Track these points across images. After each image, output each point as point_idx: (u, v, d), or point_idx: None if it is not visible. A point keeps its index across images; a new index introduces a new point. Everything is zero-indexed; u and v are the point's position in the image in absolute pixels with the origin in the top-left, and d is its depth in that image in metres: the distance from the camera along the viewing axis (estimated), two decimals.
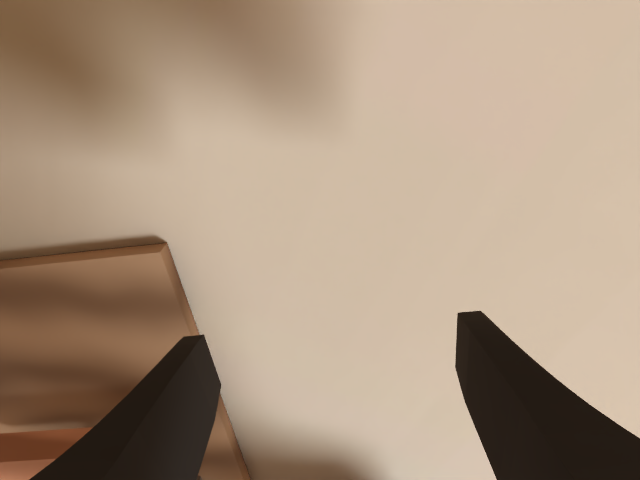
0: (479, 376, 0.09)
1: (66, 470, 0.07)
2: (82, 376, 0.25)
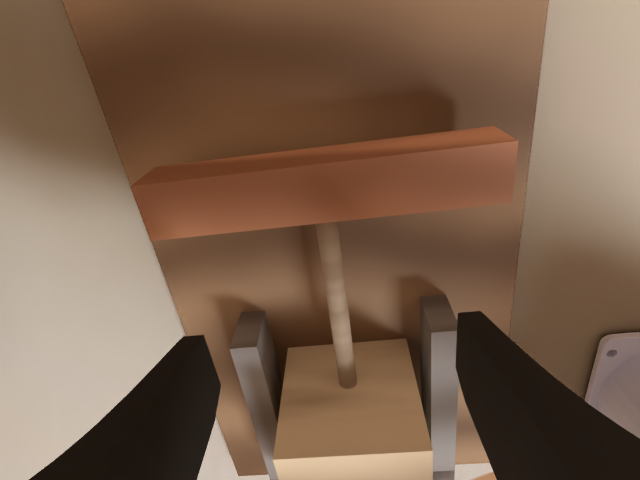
0: (479, 376, 0.09)
1: (66, 471, 0.07)
2: (316, 55, 0.14)
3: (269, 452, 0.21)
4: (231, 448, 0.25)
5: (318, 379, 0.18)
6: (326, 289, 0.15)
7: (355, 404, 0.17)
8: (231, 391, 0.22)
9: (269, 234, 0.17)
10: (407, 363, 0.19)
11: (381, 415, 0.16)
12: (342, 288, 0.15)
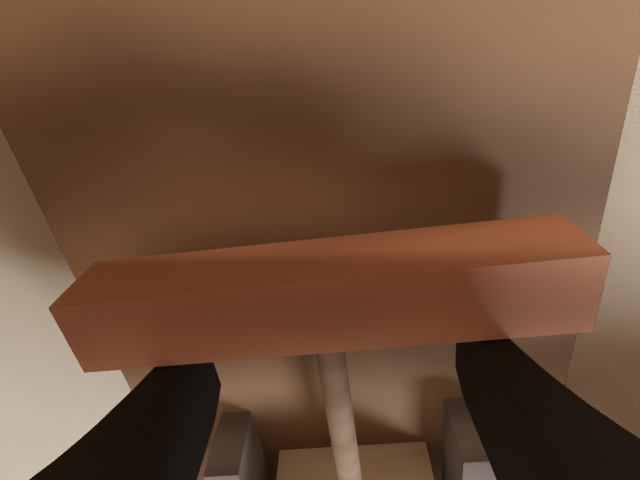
0: (479, 376, 0.09)
1: (67, 470, 0.07)
2: (314, 115, 0.10)
3: None
4: None
5: None
6: (327, 416, 0.12)
7: None
8: None
9: None
10: None
11: None
12: (348, 416, 0.11)
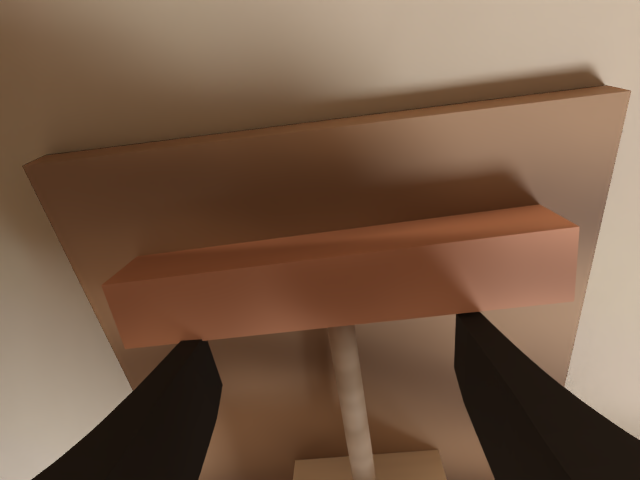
0: (477, 376, 0.09)
1: (69, 470, 0.07)
2: None
3: None
4: None
5: None
6: (341, 402, 0.13)
7: None
8: None
9: None
10: None
11: None
12: (360, 401, 0.12)
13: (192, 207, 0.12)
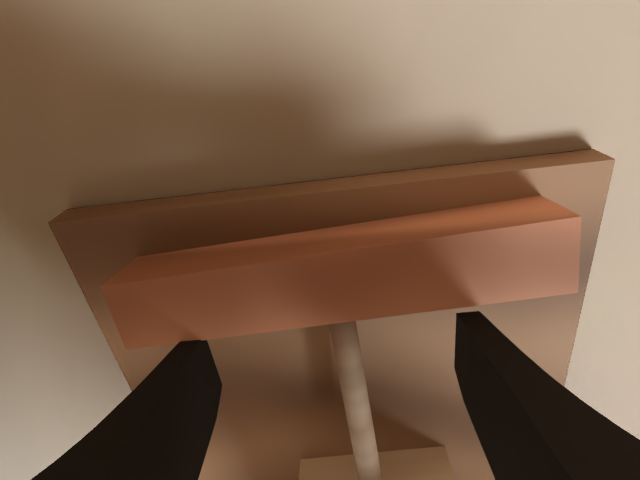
0: (477, 376, 0.09)
1: (68, 471, 0.07)
2: None
3: None
4: None
5: None
6: (344, 399, 0.12)
7: None
8: None
9: None
10: None
11: None
12: (363, 398, 0.12)
13: None
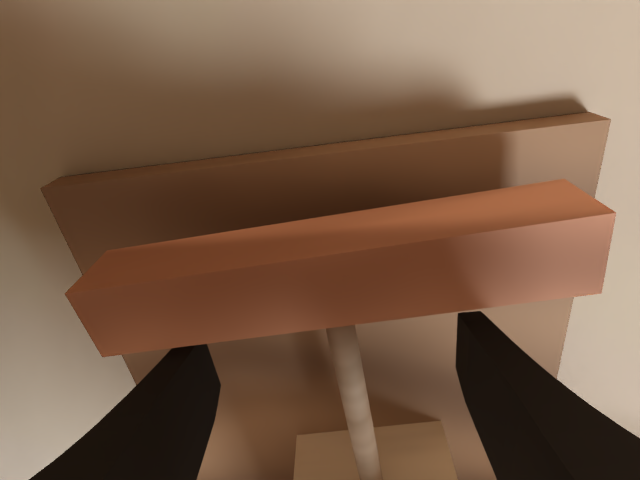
0: (479, 376, 0.09)
1: (66, 470, 0.07)
2: None
3: None
4: None
5: None
6: (341, 394, 0.12)
7: None
8: None
9: None
10: (446, 460, 0.15)
11: None
12: (361, 393, 0.12)
13: (200, 226, 0.12)
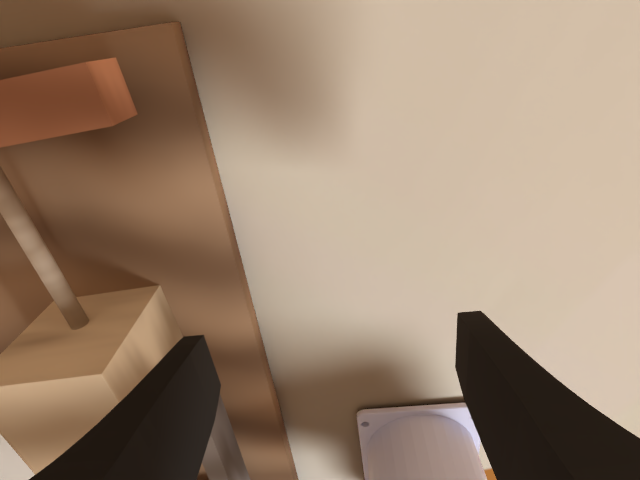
0: (479, 376, 0.09)
1: (66, 471, 0.07)
2: (69, 235, 0.20)
3: None
4: None
5: (57, 323, 0.19)
6: None
7: (70, 341, 0.18)
8: None
9: None
10: (142, 305, 0.19)
11: (84, 348, 0.17)
12: (21, 225, 0.16)
13: None
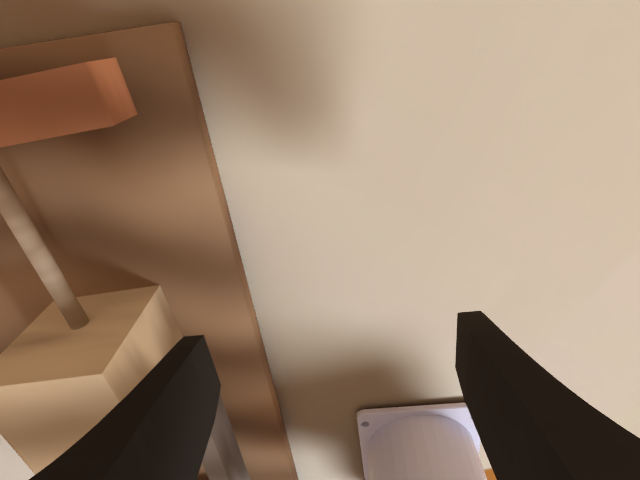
0: (479, 376, 0.09)
1: (66, 471, 0.07)
2: (69, 235, 0.20)
3: None
4: None
5: (57, 323, 0.19)
6: None
7: (70, 341, 0.18)
8: None
9: None
10: (142, 305, 0.19)
11: (84, 348, 0.17)
12: (21, 225, 0.16)
13: None
